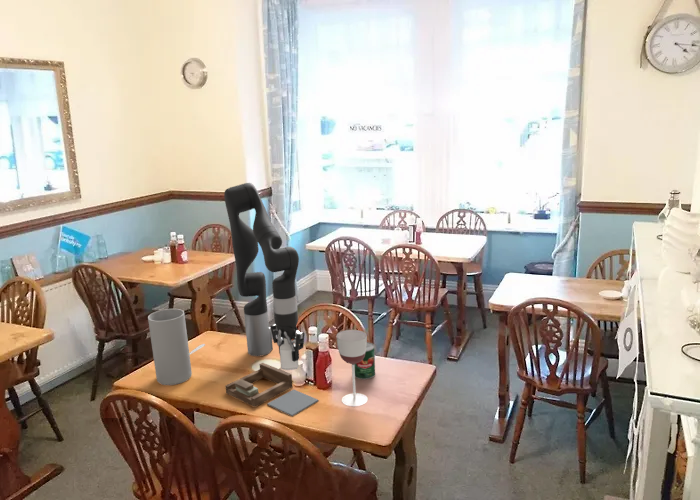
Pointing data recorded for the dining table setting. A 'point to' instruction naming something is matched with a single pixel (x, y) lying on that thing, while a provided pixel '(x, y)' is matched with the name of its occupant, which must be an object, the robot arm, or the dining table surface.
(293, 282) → the robot arm
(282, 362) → the eye dropper bottle
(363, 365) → the canned tomato
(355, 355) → the wineglass
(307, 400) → the grey rubber mat
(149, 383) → the dining table surface
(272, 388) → the frame
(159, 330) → the cylinder vase
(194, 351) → the butter knife
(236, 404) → the dining table surface
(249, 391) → the offcut stack
